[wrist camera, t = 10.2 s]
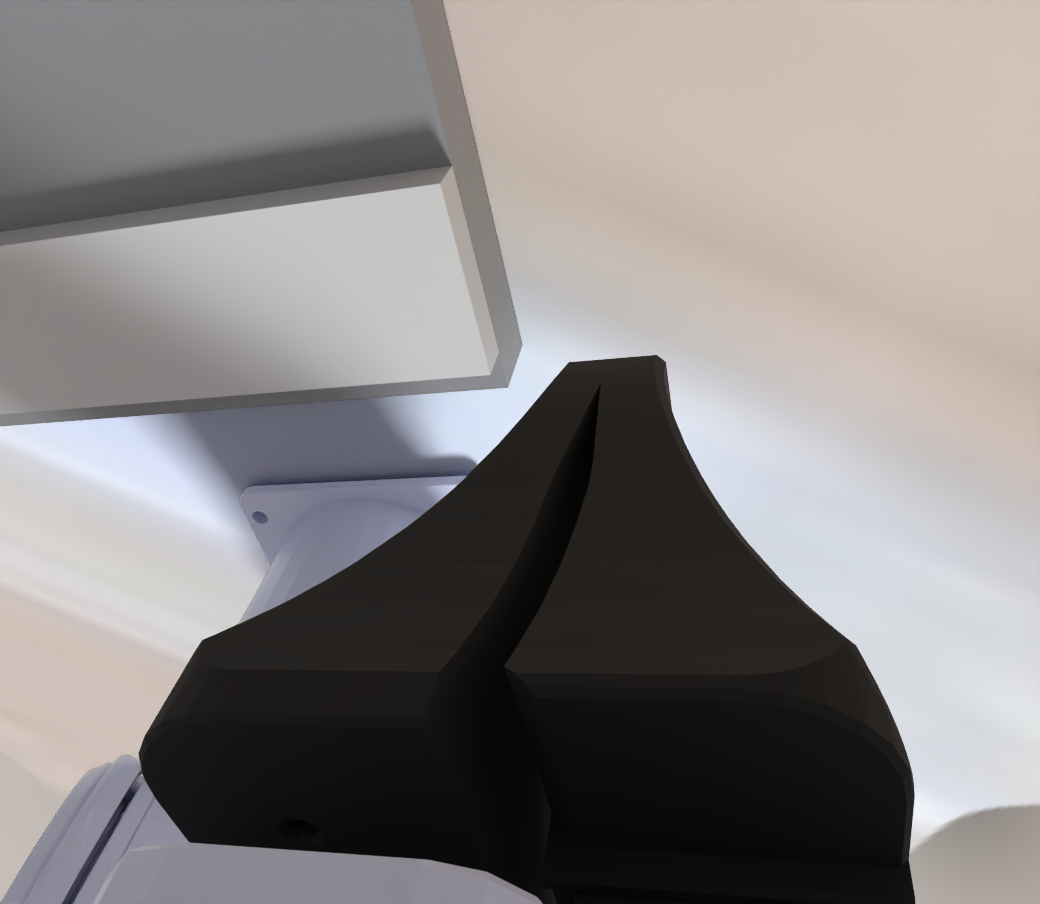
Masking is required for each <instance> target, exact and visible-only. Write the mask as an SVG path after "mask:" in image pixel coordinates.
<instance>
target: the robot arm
mask: <svg viewBox="0 0 1040 904" xmlns="http://www.w3.org/2000/svg"><path fill="white" fill-rule="evenodd" d="M239 501H240V505H241V507H242V509H243V511H244V513H245V515H246V517H247V519H248V521H249V523H250V525H251V527H252V529H253V531H254V533H255V535H256V537H257V539H258V541H259V543H260V545H261V546H262V548H263V550H264V552H265V554H266V556H267V558H268V560H269V562H270V564H271V566H270V568H269V570H268V572H267V574H266V575H265V577H264V579H263V581H262V583H261V584H260V586H259V588H258V590H257V592H256V593H255V595H254V597H253V599H252V600H251V602H250V604H249V606H248V608H247V609H246V611H245V613H244V615H243V617H242V618H241V620H240V622H239V624H238V625H235V626H233V627H231V628H229V629H227V630H225V631H222V632H220V633H218V634H216V635H213V636H211V637H209V638H206V639H204V640H202V641H201V643H200V644H199V646H198V648H197V649H196V651H195V652H194V654H193V656H192V657H191V659H190V661H189V662H188V664H187V666H186V667H185V669H184V671H183V673H182V674H181V676H180V678H179V679H178V681H177V683H176V684H175V686H174V688H173V689H172V691H171V693H170V694H169V696H168V698H167V700H166V701H165V703H164V705H163V706H162V708H161V710H160V711H159V713H158V715H157V716H156V718H155V720H154V721H153V723H152V725H151V727H150V728H149V730H148V732H147V733H146V735H145V737H144V740H143V743H142V745H141V748H140V751H139V759H140V760H139V759H137V758H135V757H133V756H131V755H127V754H124V755H121V756H119V757H118V758H117V759H116V760H115V761H114V762H113V763H107V764H104V765H101V766H99V767H96V768H93V769H91V770H89V771H88V772H87V773H86V774H85V775H84V776H83V777H82V778H81V779H80V781H79V782H78V783H77V785H76V786H75V787H74V789H73V790H72V791H71V793H70V794H69V795H68V797H67V798H66V800H65V801H64V803H63V804H62V806H61V807H60V808H59V810H58V811H57V813H56V814H55V816H54V817H53V819H52V820H51V822H50V824H49V825H48V827H47V828H46V830H45V831H44V833H43V834H42V836H41V837H40V839H39V841H38V842H37V844H36V845H35V847H34V849H33V850H32V852H31V853H30V855H29V856H28V858H27V860H26V861H25V863H24V865H23V866H22V868H21V870H20V871H19V873H18V874H17V876H16V878H15V879H14V881H13V883H12V884H11V886H10V888H9V889H8V891H7V893H6V894H5V896H4V898H3V900H2V901H1V902H0V904H915V896H914V890H913V884H912V878H911V871H910V866H909V850H910V839H911V829H912V818H913V807H914V797H915V796H914V782H913V775H912V771H911V767H910V763H909V760H908V756H907V753H906V750H905V747H904V744H903V741H902V739H901V736H900V733H899V731H898V728H897V726H896V723H895V721H894V719H893V716H892V714H891V712H890V710H889V707H888V705H887V703H886V701H885V699H884V697H883V695H882V693H881V691H880V689H879V687H878V685H877V683H876V681H875V679H874V678H873V676H872V674H871V672H870V670H869V668H868V666H867V665H866V663H865V661H864V659H863V657H862V655H861V654H860V652H859V650H858V648H857V646H856V645H855V644H853V643H852V642H851V641H850V640H848V639H847V638H846V637H844V636H843V635H842V634H841V633H839V632H838V631H837V630H836V629H834V628H833V627H832V626H831V625H830V624H828V623H827V622H826V621H825V620H824V619H823V618H821V617H820V616H819V615H818V614H817V613H816V612H814V611H813V610H812V609H811V608H810V607H809V606H808V605H807V604H805V603H804V602H803V601H802V600H801V599H800V598H799V597H798V596H797V595H796V594H795V593H794V592H793V591H792V590H791V589H790V588H789V587H788V586H787V585H786V584H785V583H784V582H783V581H781V579H780V578H779V577H778V576H777V575H776V574H775V573H774V572H773V570H772V569H771V568H770V567H769V566H768V565H767V564H766V563H765V562H764V560H763V559H762V558H761V557H760V556H759V555H758V554H757V553H756V552H755V550H754V549H753V548H752V547H751V546H750V545H749V544H748V543H747V541H746V540H745V539H744V538H743V536H742V535H741V534H740V532H739V531H738V530H737V528H736V527H735V526H734V524H733V523H732V522H731V520H730V519H729V518H728V516H727V515H726V514H725V512H724V511H723V509H722V508H721V506H720V505H719V503H718V502H717V500H716V499H715V497H714V496H713V494H712V493H711V491H710V489H709V488H708V486H707V484H706V483H705V481H704V479H703V477H702V476H701V474H700V472H699V470H698V468H697V466H696V465H695V463H694V461H693V459H692V457H691V455H690V453H689V451H688V449H687V447H686V445H685V443H684V440H683V438H682V435H681V433H680V430H679V428H678V426H677V423H676V421H675V418H674V416H673V413H672V408H671V400H670V392H669V384H668V376H667V368H666V362H665V361H664V360H662V359H661V358H660V357H658V356H657V355H652V356H640V357H628V358H616V359H604V360H592V361H580V362H569V363H568V364H567V365H566V366H565V367H564V369H563V370H562V371H561V372H560V373H559V374H558V375H557V377H556V378H555V379H554V380H553V381H552V382H551V384H550V385H549V386H548V387H547V388H546V390H545V391H544V392H543V393H542V394H541V396H540V397H539V398H538V399H537V400H536V402H535V403H534V404H533V405H532V406H531V408H530V409H529V410H528V411H527V412H526V414H525V415H524V416H523V417H522V418H521V419H520V420H519V422H518V423H517V424H516V425H515V426H514V427H513V428H512V430H511V431H510V432H509V433H508V434H507V435H506V436H505V437H504V439H503V440H502V441H501V442H500V443H499V444H498V445H497V446H496V447H495V448H494V449H493V450H492V451H491V452H490V453H489V454H488V455H487V456H486V457H485V458H484V459H483V460H482V461H481V462H480V463H479V464H478V465H477V466H476V467H475V468H474V469H473V470H472V471H471V472H470V473H469V474H468V475H467V476H466V475H464V476H444V477H424V478H404V479H384V480H364V481H344V482H324V483H304V484H284V485H264V486H251V487H248V488H246V489H245V490H244V492H243V493H242V495H241V496H240V500H239ZM260 512H262V513H264V514H265V515H263V514H262V513H260ZM141 774H143V776H141Z"/></svg>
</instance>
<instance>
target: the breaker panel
mask: <svg viewBox="0 0 1040 904" xmlns="http://www.w3.org/2000/svg"><path fill="white" fill-rule="evenodd" d="M521 347H522V342H521V337H520V333H519V329H518V324H517V320H516V316H515V312H514V307H513V303H512V299H511V294H510V290H509V286H508V281H507V277H506V273H505V269H504V264H503V260H502V256H501V251H500V247H499V243H498V238H497V234H496V230H495V225H494V221H493V217H492V213H491V208H490V204H489V200H488V195H487V191H486V187H485V182H484V178H483V174H482V169H481V165H480V161H479V157H478V152H477V148H476V144H475V139H474V135H473V131H472V126H471V122H470V118H469V113H468V109H467V105H466V101H465V96H464V92H463V88H462V83H461V79H460V75H459V70H458V66H457V62H456V58H455V53H454V49H453V45H452V40H451V36H450V32H449V27H448V23H447V19H446V14H445V10H444V6H443V2H442V0H0V426H11V425H24V424H37V423H50V422H63V421H76V420H89V419H102V418H115V417H128V416H141V415H154V414H168V413H181V412H194V411H207V410H220V409H233V408H246V407H259V406H272V405H285V404H298V403H312V402H325V401H338V400H351V399H364V398H377V397H390V396H403V395H416V394H429V393H442V392H455V391H469V390H482V389H495V388H508V385H509V383H510V380H511V377H512V374H513V371H514V368H515V365H516V362H517V359H518V356H519V353H520V350H521Z"/></svg>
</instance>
